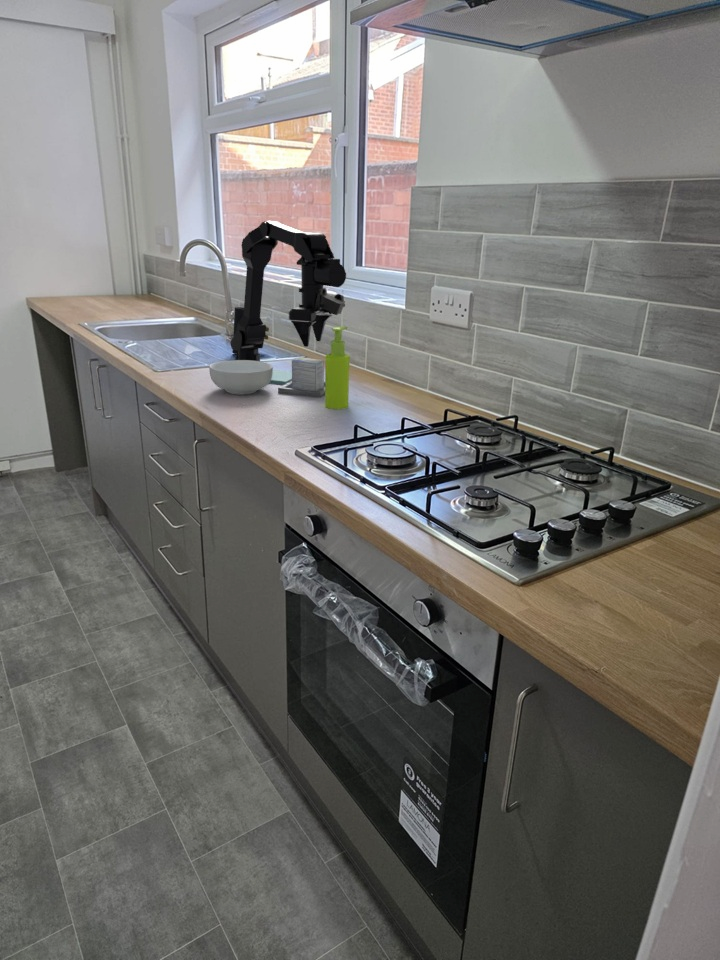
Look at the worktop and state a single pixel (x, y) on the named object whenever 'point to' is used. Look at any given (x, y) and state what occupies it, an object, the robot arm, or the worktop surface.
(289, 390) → the hollow square frame
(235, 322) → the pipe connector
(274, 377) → the board
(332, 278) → the robot arm
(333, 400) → the soap dispenser
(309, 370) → the medicine box
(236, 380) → the cereal bowl
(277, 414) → the worktop surface
